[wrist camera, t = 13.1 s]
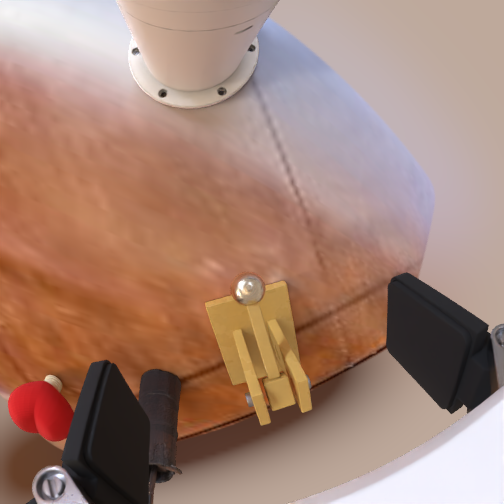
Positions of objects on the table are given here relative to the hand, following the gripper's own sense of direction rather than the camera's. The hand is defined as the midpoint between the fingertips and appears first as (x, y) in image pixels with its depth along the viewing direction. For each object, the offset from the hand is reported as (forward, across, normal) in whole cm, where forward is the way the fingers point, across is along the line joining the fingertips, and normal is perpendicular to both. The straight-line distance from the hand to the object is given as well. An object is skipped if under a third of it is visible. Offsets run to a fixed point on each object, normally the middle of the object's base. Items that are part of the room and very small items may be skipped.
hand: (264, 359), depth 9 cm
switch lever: (+16, -2, +11) cm, 20 cm away
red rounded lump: (+22, +27, +15) cm, 38 cm away
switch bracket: (+22, -2, +15) cm, 27 cm away
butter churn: (+22, +11, +18) cm, 31 cm away
